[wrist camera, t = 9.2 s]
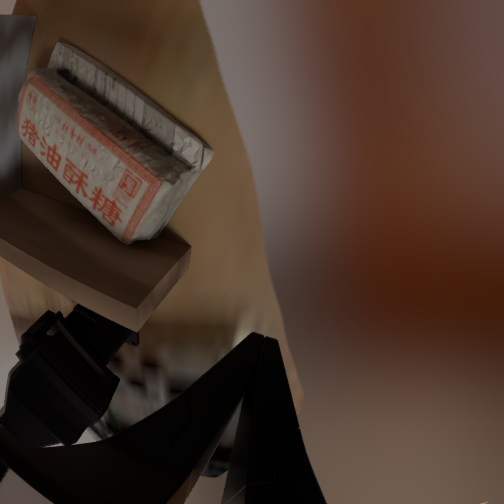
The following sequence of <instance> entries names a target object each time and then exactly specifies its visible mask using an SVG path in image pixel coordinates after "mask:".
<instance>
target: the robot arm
mask: <svg viewBox="0 0 504 504" xmlns="http://www.w3.org/2000/svg"><path fill="white" fill-rule="evenodd" d="M47 333H48V334H49V335H47ZM124 342H126V343H128V344H130V345H133V346H135V347H137V346H138V345H139V331H138V332H135V331H133V330H131V329H129V328H126V327H124V326H122V325H120V324H118V323H116V322H114V321H112V320H110V319H108V318H106V317H104V316H102V315H100V314H98V313H96V312H94V311H92V310H90V309H88V308H86V307H84V306H82V305H81V304H79V303H78V304H77V305H76V306H75V307H74V308H73V311H72V312H71V313H70V314H69V315H68V316H67V317H66V318H64V317H63V314H62V313H61V312H60V311H58V312H57V313H56V314H55V313H53V312H52V311H50V310H48V311H47V312H46V313H44V314H43V315H42V316H41V317H40V318H39V319H38V320H37V321H36V322H35V323H34V324H33V325H32V326H31V327H30V328H29V329H28V330H27V331H26V332H25V333H24V334H23V335H22V336H21V345H20V346H19V348H20V349H19V350H18V351H17V353H16V356H17V357H18V358H19V360H20V361H19V362H18V363H17V364H16V365H15V366H14V367H13V368H12V369H11V370H10V372H9V374H8V379H7V386H6V393H5V400H4V406H3V407H2V408H1V410H0V504H184V502H185V501H186V499H187V497H188V496H189V494H190V492H191V491H192V488H193V487H194V485H195V484H196V482H197V481H198V479H199V477H200V475H201V474H202V472H203V470H204V468H205V467H206V465H207V463H208V461H209V460H210V458H211V456H212V454H213V453H214V451H215V449H216V447H217V445H218V444H219V442H220V440H221V438H222V436H223V434H224V433H225V431H226V429H227V427H228V425H229V423H230V421H231V419H232V418H233V416H234V414H235V412H236V410H237V408H238V406H239V404H240V402H241V400H242V398H243V396H244V398H243V402H242V407H241V412H240V417H239V421H238V426H237V431H236V436H235V441H234V445H233V450H232V455H231V460H230V464H229V469H228V474H227V478H226V483H225V488H224V492H223V496H222V501H221V504H327V503H326V500H325V498H324V496H323V493H322V491H321V488H320V486H319V484H318V481H317V479H316V476H315V474H314V471H313V469H312V466H311V464H310V461H309V458H308V455H307V452H306V449H305V445H304V442H303V439H302V434H301V430H300V429H299V423H298V419H297V415H296V411H295V407H294V403H293V399H292V395H291V391H290V387H289V383H288V379H287V375H286V371H285V367H284V363H283V359H282V355H281V351H280V347H279V343H278V340H277V339H274V338H271V337H268V336H266V337H265V338H264V335H262V334H259V333H256V332H252V333H250V334H249V335H248V336H247V337H246V338H245V339H243V340H242V341H241V342H240V343H239V344H238V345H237V346H236V347H234V348H233V349H232V350H231V351H230V352H229V353H228V354H226V355H225V356H224V357H223V358H222V359H221V360H220V361H218V362H217V363H216V364H215V365H214V366H213V367H211V368H210V369H209V370H208V371H207V372H206V373H204V374H203V375H202V376H201V377H200V378H199V379H197V380H196V381H195V382H194V383H193V384H191V385H190V386H189V387H188V388H187V389H185V391H184V392H182V393H180V394H179V395H178V396H177V397H175V398H174V399H173V400H172V401H170V402H169V403H168V404H166V405H165V406H163V407H162V408H161V409H159V410H157V411H156V412H154V413H153V414H151V415H149V416H148V417H146V418H144V419H143V420H141V421H139V422H137V423H135V424H134V425H132V426H130V427H128V428H126V429H125V430H123V431H121V432H119V433H117V434H115V435H113V436H111V437H109V438H106V439H103V440H101V441H96V442H91V443H84V444H75V445H72V444H74V443H76V442H77V441H78V439H79V438H80V437H81V435H82V434H83V432H84V431H85V430H86V428H87V427H90V426H92V425H94V424H95V423H96V422H98V421H99V420H100V419H101V417H102V416H103V415H104V414H105V412H106V410H107V408H108V406H109V404H110V402H111V399H112V397H113V395H114V393H115V390H116V388H117V386H118V384H119V381H120V378H119V377H118V376H117V375H114V374H113V373H112V372H111V371H110V370H109V368H108V367H107V364H108V363H109V362H110V360H111V359H112V358H113V356H114V355H115V354H116V353H117V351H118V350H119V349H120V347H121V346H122V345H123V344H124ZM244 393H245V394H244ZM59 443H62V444H63V445H65V446H56V447H46V446H51V445H55V444H59Z"/></svg>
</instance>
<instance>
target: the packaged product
mask: <svg viewBox="0 0 504 504" xmlns="http://www.w3.org/2000/svg"><path fill="white" fill-rule="evenodd" d="M18 101H19V106H18V119H17V120H18V121H17V133H18V136H19V137H20V139H21V140H22V141H23V142H24V143H25V145H26V146H27V147H28V148H29V149H30V150H31V151H32V153H33V154H34V155H35V156H36V157H37V158H38V159H39V160H40V161H41V162H42V163H43V164H44V166H45V167H46V168H47V169H48V170H49V171H50V172H51V173H52V174H53V175H54V176H55V177H56V178H57V179H58V180H59V181H60V182H61V183H62V184H63V185H64V186H65V187H66V188H67V189H68V190H69V191H70V193H71V194H72V195H73V196H74V197H76V198H77V199H78V201H79V202H80V203H82V205H83V206H84V207H85V208H87V209H88V210H89V211H90V212H91V213H92V214H93V215H94V216H95V217H96V218H97V219H98V220H99V221H100V222H101V223H102V224H103V225H104V226H105V227H106V228H107V229H108V230H110V231H111V233H112V234H113V235H114V236H115V237H117V238H118V239H119V240H120V241H122V242H123V243H125V244H126V245H128V244H132V243H133V242H135V241H137V240H151V239H156V238H157V237H158V236H159V235H160V233H161V232H162V230H163V229H164V227H165V226H166V224H167V223H168V222H169V220H170V219H171V217H172V215H173V214H174V212H175V210H176V209H177V207H178V205H179V203H180V202H181V200H182V198H183V197H184V195H185V194H186V193H187V191H188V190H189V189H190V187H191V186H192V185H193V183H194V182H195V181H196V179H197V178H198V176H199V175H200V174H201V172H202V171H203V170H204V168H205V167H206V166H207V165H208V163H209V162H210V161H211V159H212V158H213V155H214V151H213V150H212V149H211V148H210V147H209V146H208V145H206V144H205V143H204V142H203V141H201V140H200V139H199V138H198V137H196V136H195V135H194V134H192V133H191V132H190V131H188V130H187V129H186V128H184V127H183V126H182V125H180V124H179V123H178V122H177V121H176V120H175V119H173V118H172V117H171V116H170V115H169V114H168V113H166V112H165V111H164V110H163V109H162V108H160V107H159V106H158V105H157V104H156V103H154V102H153V101H152V100H151V99H149V98H148V97H146V96H145V95H144V94H142V93H141V92H140V91H138V90H137V89H136V88H134V87H133V86H132V85H130V84H129V83H128V82H127V81H125V80H124V79H123V78H121V77H120V76H118V75H117V74H116V73H114V72H113V71H111V70H110V69H108V68H107V67H105V66H104V65H102V64H101V63H99V62H98V61H96V60H95V59H93V58H91V57H90V56H88V55H87V54H85V53H83V52H82V51H80V50H78V49H77V48H75V47H73V46H71V45H69V44H66V43H62V42H57V44H56V46H55V48H54V50H53V52H52V55H51V58H50V61H49V63H48V65H47V68H34V69H32V70H31V72H30V74H29V75H28V78H27V80H26V81H25V82H24V84H23V86H22V88H21V90H20V93H19V99H18Z"/></svg>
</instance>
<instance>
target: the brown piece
mask: <svg viewBox="0 0 504 504" xmlns="http://www.w3.org/2000/svg"><path fill="white" fill-rule="evenodd" d="M36 18H37V16H30V15H0V256H1V257H3V258H4V259H6V260H7V261H9V262H10V263H12V264H13V265H15V266H16V267H18V268H19V269H21V270H22V271H24V272H26V273H27V274H29V275H30V276H32V277H34V278H35V279H37V280H39V281H40V282H42V283H44V284H45V285H47V286H49V287H50V288H52V289H54V290H55V291H57V292H59V293H61V294H62V295H64V296H66V297H68V298H70V299H71V300H73V301H75V302H77V303H79V304H81V305H82V306H84V307H86V308H88V309H90V310H92V311H94V312H96V313H98V314H100V315H102V316H104V317H106V318H108V319H110V320H112V321H114V322H116V323H118V324H120V325H122V326H124V327H126V328H129V329H131V330H133V331H135V332H138V331H139V330H140V328H141V327H142V326H143V324H144V323H145V322H146V321H147V319H148V318H149V317H150V316H151V314H152V313H153V312H154V310H155V309H156V308H157V307H158V305H159V304H160V303H161V302H162V300H163V299H164V298H165V297H166V295H167V294H168V293H169V291H170V290H171V289H172V288H173V287H174V285H175V284H176V283H177V282H178V280H179V279H180V278H181V277H182V275H183V274H184V273H185V272H186V270H187V269H188V268H189V260H190V252H191V246H188V245H185V244H182V243H179V242H176V241H173V240H170V239H167V238H164V237H161V236H158V237H157V238H156V239H151V240H137V241H135V242H133V243H132V244H128V245H126V244H125V243H123V242H122V241H120V240H119V239H118V238H117V237H115V236H114V235H113V234H112V233H111V231H110V230H108V229H107V228H106V227H105V226H104V225H103V224H102V223H101V222H100V221H99V220H98V219H97V218H96V217H95V216H94V215H93V214H92V213H91V212H88V211H85V210H83V209H80V208H77V207H74V206H71V205H68V204H65V203H63V202H60V201H57V200H54V199H51V198H48V197H46V196H43V195H40V194H37V193H34V192H32V191H29V190H26V189H23V185H22V166H21V139H20V137H19V136H18V133H17V121H18V120H17V119H18V106H19V101H18V99H19V93H20V90H21V88H22V86H23V84H24V82H25V76H26V69H27V62H28V56H29V51H30V45H31V40H32V35H33V31H34V27H35V22H36Z"/></svg>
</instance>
